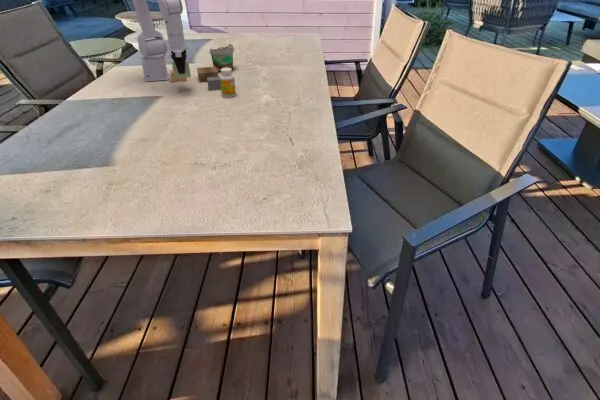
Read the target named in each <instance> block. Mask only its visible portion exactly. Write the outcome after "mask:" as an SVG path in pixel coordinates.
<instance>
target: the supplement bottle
mask: <svg viewBox="0 0 600 400" xmlns="http://www.w3.org/2000/svg"><path fill="white" fill-rule="evenodd" d="M220 73H221V75H220V76H219V77H220V84H221V90H220V92H221V96H222V97H224V98H233V97H235V96H236V95H237V93H236V81H235V75H234V74H233V70H232V69H231V68H222V69H221V72H220Z"/></svg>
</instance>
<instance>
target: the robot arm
mask: <svg viewBox="0 0 600 400" xmlns="http://www.w3.org/2000/svg"><path fill="white" fill-rule="evenodd" d="M155 1H156V2H157V4H158V8H159V11H160V13H161V17H162V20H163V21H164V24H165V30H166V34H167V35H166V36H167V40H168V44H167V42H166V40H165V38H164V35H163V33H162V32H159V31H158V30H156V29H155V25H154V22H153V19H152V18H153V17H152V15H151V12H150V8H149V5H148V1H147V0H132V4H133V6H134V9H135V10H134V11H135V13H136V16H137V18H138V19H137V20H138V23H139V25H140V28H141V32H140V34H139V35H138V36H137V43H138V50H139V52H140V53H141V55H142V57H141V58H140V61H141V62H140V63H141V66H142V71H143V75H144V80H145V82H156V81H157V82H159V81H168V80H170V72H169V73H168V67H167V62H166V59H165V56H166V54H167V53H168V49H169V51H170V57H171V59H172V60H173V61H172V62H175V64H176V67H177V70H178V72H179V74H185V61H187V60H186V59H187V49H190V46H189V45H186V41H185V34H184V29H183V23H182V21H183V20H182V16H181V15H182V13H183V10H184V7H183V3H182V2H183V1H182V0H155ZM168 46H169V47H168Z"/></svg>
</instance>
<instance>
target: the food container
mask: <svg viewBox="0 0 600 400" xmlns="http://www.w3.org/2000/svg"><path fill="white" fill-rule="evenodd" d="M234 52H235V48H234V46H233V44H230V43H228V45H227V46H221V47H218V48H215V49H214V48H209V54H210V55H211V61H212V67H216V68H217V71H218V73H221V69H222V68H231V69H232V71H233V70H234V57H233V56H234Z"/></svg>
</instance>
